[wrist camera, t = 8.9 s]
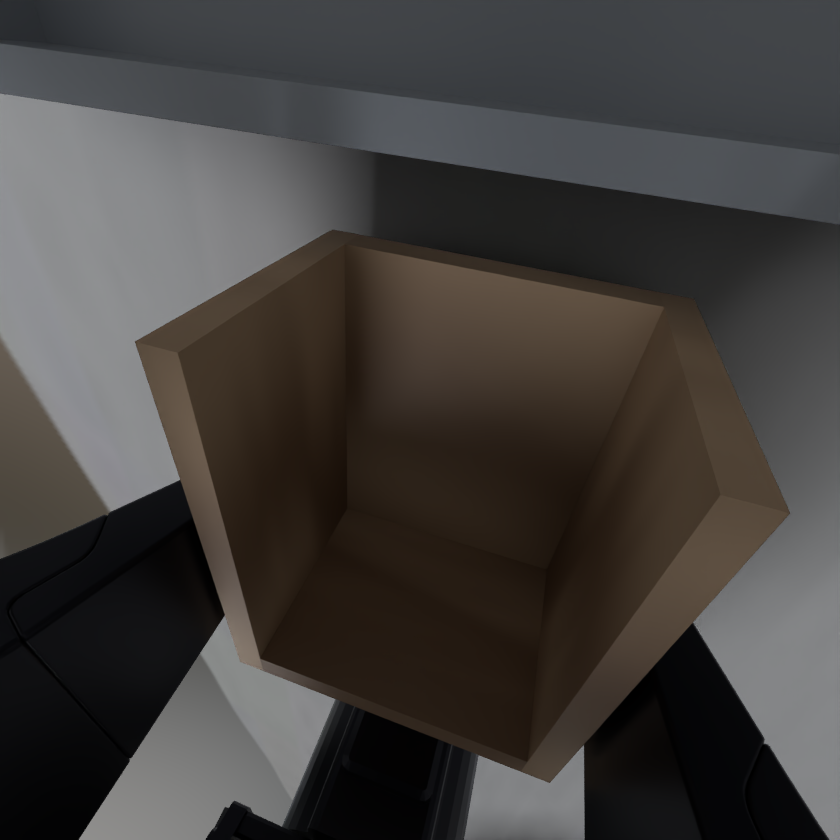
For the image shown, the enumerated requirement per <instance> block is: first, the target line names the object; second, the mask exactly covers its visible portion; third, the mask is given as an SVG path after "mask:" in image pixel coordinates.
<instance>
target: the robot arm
mask: <svg viewBox="0 0 840 840" xmlns="http://www.w3.org/2000/svg"><path fill="white" fill-rule="evenodd" d="M224 616H225V614H224V611H223V608H222V605H221V602H220V599H219V596H218V593H217V589H216V586H215V583H214V580H213V577H212V574H211V571H210V568H209V565H208V562H207V559H206V556H205V553H204V550H203V547H202V544H201V541H200V538H199V535H198V532H197V529H196V526H195V523H194V520H193V517H192V513H191V510H190V507H189V504H188V501H187V498H186V495H185V492H184V489H183V486H182V483H181V480H179V481H177V482H175V483H172V484H170V485H168V486H166V487H164V488H162V489H159V490H157V491H155V492H153V493H151V494H148V495H146V496H144V497H142V498H140V499H138V500H135V501H133V502H131V503H129V504H127V505H125V506H122V507H120V508H118V509H116V510H114V511H111V512H110V513H109V514H108V516H107V515H102V516H100V517H98V518H96V519H94V520H92V521H89V522H87V523H85V524H83V525H81V526H78V527H76V528H74V529H72V530H69V531H67V532H65V533H63V534H60V535H58V536H56V537H54V538H51V539H49V540H46V541H44V542H42V543H39V544H36V545H34V546H32V547H29V548H27V549H24V550H22V551H19V552H17V553H14V554H12V555H9V556H7V557H4V558H1V559H0V840H79V838H80V837H81V835H82V834H83V832H84V830H85V829H86V827H87V826H88V824H89V823H90V821H91V820H92V818H93V817H94V815H95V813H96V812H97V810H98V809H99V808H100V806H101V804H102V803H103V801H104V800H105V798H106V797H107V795H108V794H109V792H110V791H111V789H112V788H113V786H114V785H115V783H116V781H117V780H118V778H119V777H120V775H121V774H122V772H123V771H124V769H125V768H126V766H127V765H128V763H129V761H130V759H129V758H132V757H133V755H134V753H135V752H136V750H137V749H138V747H139V746H140V744H141V743H142V741H143V740H144V738H145V736H146V735H147V734H148V732H149V731H150V729H151V727H152V726H153V724H154V723H155V721H156V720H157V718H158V717H159V715H160V714H161V712H162V711H163V709H164V707H165V706H166V704H167V703H168V701H169V700H170V698H171V697H172V695H173V694H174V692H175V691H176V689H177V688H178V686H179V685H180V683H181V681H182V680H183V678H184V677H185V675H186V674H187V672H188V671H189V669H190V668H191V666H192V665H193V663H194V661H195V660H196V659H197V657H198V655H199V654H200V652H201V651H202V649H203V648H204V646H205V645H206V643H207V642H208V640H209V639H210V637H211V636H212V634H213V633H214V631H215V630H216V628H217V626H218V625H219V623H220V622H221V620H222V619H223V617H224ZM764 740H765V739H764V737H763V735H762V734H761V732H760V730H759V729H758V727H757V726H756V724H755V722H754V721H753V719H752V717H751V716H750V714H749V713H748V711H747V709H746V708H745V706H744V704H743V703H742V701H741V700H740V698H739V696H738V695H737V693H736V691H735V690H734V688H733V687H732V685H731V683H730V682H729V680H728V679H727V677H726V675H725V674H724V672H723V670H722V669H721V667H720V666H719V664H718V662H717V661H716V659H715V657H714V656H713V654H712V653H711V651H710V649H709V648H708V646H707V645H706V643H705V641H704V640H703V638H702V636H701V635H700V633H699V632H698V630H697V628H696V627H695V625H694V623H692V624H691V625H690V626H689V627H688V628H687V629H686V631H685V632H684V633H683V634H682V635H681V636H680V637H679V638H678V639H677V641H676V642H675V643H674V644H673V645H672V646H671V647H670V648H669V650H668V651H667V652H666V653H665V654H664V655H663V656H662V657H661V659H660V660H659V661H658V662H657V663H656V664H655V665H654V666H653V668H652V669H651V670H650V671H649V672H648V673H647V674H646V675H645V677H644V678H643V679H642V680H641V681H640V682H639V683H638V684H637V685H636V687H635V688H634V689H633V690H632V691H631V692H630V693H629V694H628V696H627V697H626V698H625V699H624V700H623V701H622V702H621V703H620V705H619V706H618V707H617V708H616V709H615V710H614V711H613V712H612V714H611V715H610V716H609V717H608V718H607V719H606V720H605V721H604V723H603V724H602V725H601V726H600V727H599V728H598V729H597V730H596V731H595V733H594V734H593V735H592V736H591V737H590V738H589V739H588V740H587V742H586V743H585V744H584V802H585V840H829V838H828V837H827V835H826V834H825V832H824V831H823V830H822V828H821V827H820V825H819V824H818V822H817V820H816V819H815V817H814V816H813V814H812V813H811V811H810V810H809V808H808V806H807V805H806V803H805V802H804V800H803V799H802V797H801V796H800V794H799V792H798V791H797V789H796V788H795V786H794V785H793V783H792V782H791V780H790V778H789V777H788V775H787V774H786V772H785V770H784V769H783V767H782V766H781V764H780V762H779V761H778V759H777V758H776V756H775V754H774V753H773V751H772V749H771V748H770V746H769V745H767V744H764ZM477 760H478V755H477V754H475V753H472V752H470V751H467V750H464V749H462V748H459V747H457V746H454V745H452V744H449V743H447V742H444V741H441V740H439V739H436V738H434V737H431V736H429V735H426V734H424V733H421V732H419V731H416V730H413V729H411V728H408V727H406V726H403V725H401V724H398V723H396V722H393V721H390V720H388V719H385V718H383V717H380V716H378V715H375V714H373V713H370V712H367V711H365V710H362V709H360V708H357V707H355V706H352V705H350V704H347V703H344V702H342V701H339V700H337V699H335V702H334V704H333V707H332V709H331V711H330V714H329V716H328V718H327V721H326V723H325V726H324V728H323V730H322V733H321V735H320V737H319V740H318V742H317V745H316V747H315V749H314V752H313V754H312V757H311V759H310V761H309V764H308V766H307V768H306V771H305V773H304V776H303V778H302V780H301V783H300V785H299V787H298V790H297V792H296V795H295V797H294V799H293V802H292V804H291V807H290V809H289V811H288V814H287V816H286V818H285V821H284V823H283V826H282V827H281V826H279V825H277V824H275V823H273V822H270V821H268V820H266V819H264V818H262V817H259V816H257V815H255V814H253V813H252V811H251V809H250V808H249V807H247V806H245V805H243V804H241V803H238V802H236V801H234V802H233V803H232V804H231V805H230V807H229V808H226V807H225V808H224V810H223V812H222V814H221V816H220V818H219V820H218V822H217V824H216V826H215V828H214V829H212V831H211V832H210V834H209V835H208V836H207V838H206V840H464V835H465V830H466V824H467V818H468V812H469V807H470V801H471V795H472V789H473V784H474V778H475V772H476V766H477Z"/></svg>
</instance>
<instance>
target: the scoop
mask: <svg viewBox="0 0 840 840" xmlns="http://www.w3.org/2000/svg"><path fill="white" fill-rule="evenodd" d="M135 343H136V346H137V349H138V352H139V355H140V358H141V362H142V365H143V368H144V371H145V374H146V377H147V380H148V383H149V386H150V389H151V392H152V395H153V398H154V401H155V404H156V407H157V410H158V413H159V416H160V419H161V422H162V425H163V428H164V431H165V434H166V438H167V441H168V444H169V447H170V450H171V453H172V456H173V459H174V462H175V465H176V468H177V471H178V474H179V477H180V480H181V483H182V486H183V489H184V492H185V495H186V498H187V501H188V504H189V507H190V510H191V513H192V517H193V520H194V523H195V526H196V529H197V532H198V535H199V538H200V541H201V544H202V547H203V550H204V553H205V556H206V559H207V562H208V565H209V568H210V571H211V574H212V577H213V580H214V583H215V586H216V589H217V593H218V596H219V599H220V602H221V605H222V608H223V611H224V614H225V617H226V620H227V623H228V626H229V629H230V632H231V635H232V638H233V641H234V644H235V647H236V650H237V653H238V656H239V659H240V662H242V663H245V664H247V665H250V666H253V667H255V668H258V669H260V670H263V671H265V672H268V673H270V674H273V675H275V676H278V677H281V678H283V679H286V680H288V681H291V682H293V683H296V684H298V685H301V686H304V687H306V688H309V689H311V690H314V691H316V692H319V693H321V694H324V695H327V696H329V697H332V698H334V699H337V700H339V701H342V702H344V703H347V704H350V705H352V706H355V707H357V708H360V709H362V710H365V711H367V712H370V713H373V714H375V715H378V716H380V717H383V718H385V719H388V720H390V721H393V722H396V723H398V724H401V725H403V726H406V727H408V728H411V729H413V730H416V731H419V732H421V733H424V734H426V735H429V736H431V737H434V738H436V739H439V740H441V741H444V742H447V743H449V744H452V745H454V746H457V747H459V748H462V749H464V750H467V751H470V752H472V753H475V754H477V755H480V756H482V757H485V758H487V759H490V760H493V761H495V762H498V763H500V764H503V765H505V766H508V767H510V768H513V769H516V770H518V771H521V772H523V773H526V774H528V775H531V776H533V777H536V778H539V779H541V780H544V781H546V782H549V783H550V782H551V781H552V780H553V779H554V778H555V776H556V775H557V774H558V773H559V772H560V771H561V770H562V769H563V767H564V766H565V765H566V764H567V763H568V762H569V761H570V760H571V758H572V757H573V756H574V755H575V754H576V753H577V752H578V751H579V749H580V748H581V747H582V746H583V745H584V744H585V743H586V742H587V740H588V739H589V738H590V737H591V736H592V735H593V734H594V733H595V731H596V730H597V729H598V728H599V727H600V726H601V725H602V724H603V723H604V721H605V720H606V719H607V718H608V717H609V716H610V715H611V714H612V712H613V711H614V710H615V709H616V708H617V707H618V706H619V705H620V703H621V702H622V701H623V700H624V699H625V698H626V697H627V696H628V694H629V693H630V692H631V691H632V690H633V689H634V688H635V687H636V685H637V684H638V683H639V682H640V681H641V680H642V679H643V678H644V677H645V675H646V674H647V673H648V672H649V671H650V670H651V669H652V668H653V666H654V665H655V664H656V663H657V662H658V661H659V660H660V659H661V657H662V656H663V655H664V654H665V653H666V652H667V651H668V650H669V648H670V647H671V646H672V645H673V644H674V643H675V642H676V641H677V639H678V638H679V637H680V636H681V635H682V634H683V633H684V632H685V631H686V629H687V628H688V627H689V626H690V625H691V624H692V623H693V622H694V620H695V619H696V618H697V617H698V616H699V615H700V614H701V613H702V611H703V610H704V609H705V608H706V607H707V606H708V605H709V604H710V602H711V601H712V600H713V599H714V598H715V597H716V596H717V595H718V593H719V592H720V591H721V590H722V589H723V588H724V587H725V586H726V584H727V583H728V582H729V581H730V580H731V579H732V578H733V577H734V576H735V574H736V573H737V572H738V571H739V570H740V569H741V568H742V567H743V565H744V564H745V563H746V562H747V561H748V560H749V559H750V558H751V556H752V555H753V554H754V553H755V552H756V551H757V550H758V549H759V547H760V546H761V545H762V544H763V543H764V542H765V541H766V540H767V538H768V537H769V536H770V535H771V534H772V533H773V532H774V531H775V530H776V528H777V527H778V526H779V525H780V524H781V523H782V522H783V521H784V519H785V518H786V517H787V516H788V515H789V514H790V512H789V509H788V507H787V505H786V503H785V500H784V498H783V496H782V494H781V492H780V489H779V487H778V485H777V483H776V480H775V478H774V476H773V474H772V472H771V469H770V467H769V465H768V463H767V460H766V458H765V456H764V454H763V451H762V449H761V447H760V445H759V443H758V440H757V438H756V436H755V434H754V431H753V429H752V427H751V425H750V422H749V420H748V418H747V416H746V414H745V411H744V409H743V407H742V405H741V402H740V400H739V398H738V396H737V394H736V391H735V389H734V387H733V385H732V382H731V380H730V378H729V376H728V373H727V371H726V369H725V367H724V365H723V362H722V360H721V358H720V356H719V353H718V351H717V349H716V347H715V345H714V342H713V340H712V338H711V336H710V333H709V331H708V329H707V327H706V324H705V322H704V320H703V318H702V316H701V313H700V311H699V309H698V307H697V304H696V302H695V300H694V299H692V298H687V297H682V296H677V295H671V294H666V293H661V292H656V291H650V290H645V289H640V288H635V287H630V286H624V285H619V284H614V283H609V282H603V281H598V280H593V279H588V278H583V277H577V276H572V275H567V274H562V273H557V272H551V271H546V270H541V269H536V268H530V267H525V266H520V265H515V264H510V263H504V262H499V261H494V260H489V259H484V258H478V257H473V256H468V255H463V254H457V253H452V252H447V251H442V250H437V249H431V248H426V247H421V246H416V245H410V244H405V243H400V242H395V241H390V240H384V239H379V238H374V237H369V236H364V235H358V234H353V233H348V232H343V231H337V230H331V231H329V232H327V233H326V234H324V235H322V236H320V237H319V238H317V239H315V240H313V241H312V242H310V243H308V244H306V245H305V246H303V247H301V248H299V249H297V250H296V251H294V252H292V253H290V254H289V255H287V256H285V257H283V258H282V259H280V260H278V261H276V262H275V263H273V264H271V265H269V266H267V267H266V268H264V269H262V270H260V271H259V272H257V273H255V274H253V275H252V276H250V277H248V278H246V279H245V280H243V281H241V282H239V283H238V284H236V285H234V286H232V287H230V288H229V289H227V290H225V291H223V292H222V293H220V294H218V295H216V296H215V297H213V298H211V299H209V300H208V301H206V302H204V303H202V304H200V305H199V306H197V307H195V308H193V309H192V310H190V311H188V312H186V313H185V314H183V315H181V316H179V317H178V318H176V319H174V320H172V321H171V322H169V323H167V324H165V325H163V326H162V327H160V328H158V329H156V330H155V331H153V332H151V333H149V334H148V335H146V336H144V337H142V338H141V339H139V340H137V341H135Z"/></svg>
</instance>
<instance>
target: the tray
mask: <svg viewBox="0 0 840 840" xmlns="http://www.w3.org/2000/svg"><path fill="white" fill-rule="evenodd" d="M0 93H2V94H8V95H14V96H21V97H27V98H34V99H40V100H46V101H53V102H59V103H66V104H72V105H78V106H85V107H91V108H97V109H104V110H110V111H117V112H123V113H129V114H136V115H142V116H149V117H155V118H161V119H168V120H174V121H180V122H187V123H193V124H200V125H206V126H212V127H219V128H225V129H232V130H238V131H244V132H251V133H257V134H263V135H270V136H276V137H283V138H289V139H295V140H302V141H308V142H315V143H321V144H327V145H334V146H340V147H346V148H353V149H359V150H366V151H372V152H378V153H385V154H391V155H398V156H404V157H410V158H417V159H423V160H429V161H436V162H442V163H449V164H455V165H461V166H468V167H474V168H481V169H487V170H493V171H500V172H506V173H512V174H519V175H525V176H532V177H538V178H544V179H551V180H557V181H564V182H570V183H576V184H583V185H589V186H595V187H602V188H608V189H615V190H621V191H627V192H634V193H640V194H647V195H653V196H659V197H666V198H672V199H678V200H685V201H691V202H698V203H704V204H710V205H717V206H723V207H730V208H736V209H742V210H749V211H755V212H761V213H768V214H774V215H781V216H787V217H793V218H800V219H806V220H813V221H819V222H825V223H832V224H838V225H840V0H0Z"/></svg>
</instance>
